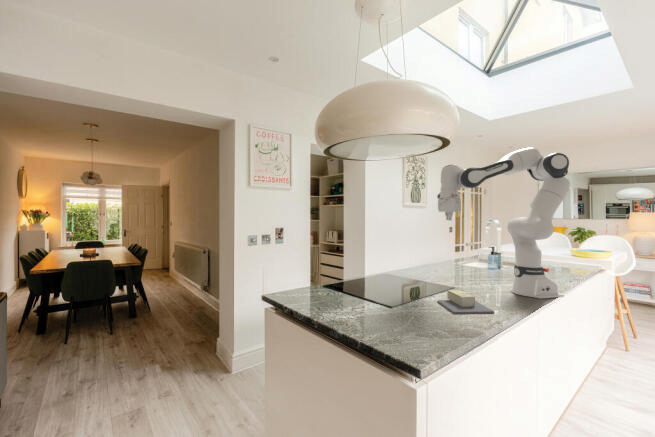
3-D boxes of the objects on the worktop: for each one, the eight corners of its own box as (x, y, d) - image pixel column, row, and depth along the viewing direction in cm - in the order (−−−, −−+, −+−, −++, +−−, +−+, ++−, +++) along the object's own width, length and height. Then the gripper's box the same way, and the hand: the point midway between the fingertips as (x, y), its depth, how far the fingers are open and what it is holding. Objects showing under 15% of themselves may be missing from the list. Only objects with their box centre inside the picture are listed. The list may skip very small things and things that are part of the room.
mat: (473, 301, 140) (473, 299, 140) (493, 313, 124) (494, 311, 124) (437, 302, 139) (437, 300, 139) (453, 313, 123) (453, 312, 123)
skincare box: (459, 289, 142) (475, 296, 130) (459, 298, 142) (475, 306, 130) (446, 290, 141) (462, 296, 129) (446, 299, 141) (462, 307, 129)
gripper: (464, 193, 152) (464, 221, 153) (446, 195, 173) (446, 219, 173) (452, 193, 152) (452, 221, 152) (435, 195, 173) (435, 219, 173)
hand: (448, 220), depth 163 cm, fingers closed
